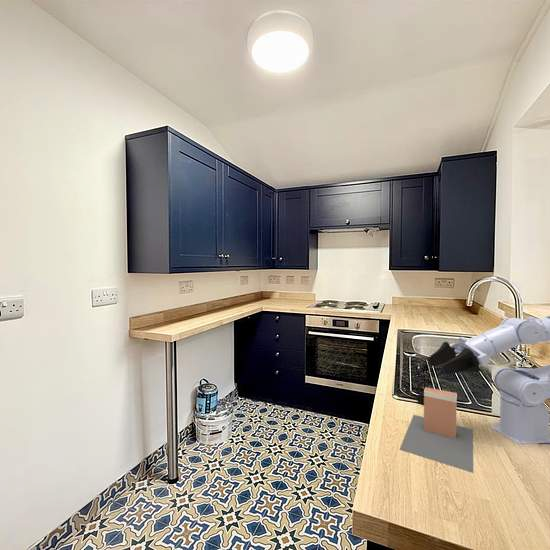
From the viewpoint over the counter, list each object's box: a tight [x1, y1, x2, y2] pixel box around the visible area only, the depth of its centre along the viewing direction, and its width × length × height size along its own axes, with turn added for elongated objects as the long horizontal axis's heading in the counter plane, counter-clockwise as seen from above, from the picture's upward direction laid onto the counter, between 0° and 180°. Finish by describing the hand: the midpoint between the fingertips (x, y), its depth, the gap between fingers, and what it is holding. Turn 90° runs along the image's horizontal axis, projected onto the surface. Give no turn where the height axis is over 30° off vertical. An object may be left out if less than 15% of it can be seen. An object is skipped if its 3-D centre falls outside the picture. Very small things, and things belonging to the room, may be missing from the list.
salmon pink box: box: [423, 386, 458, 438], centre depth 75 cm, size 3×7×10 cm, turn 57°
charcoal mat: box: [399, 414, 474, 474], centre depth 72 cm, size 20×14×1 cm
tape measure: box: [415, 392, 424, 405], centre depth 91 cm, size 7×7×4 cm
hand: (435, 366), depth 75 cm, fingers open, 7 cm apart
